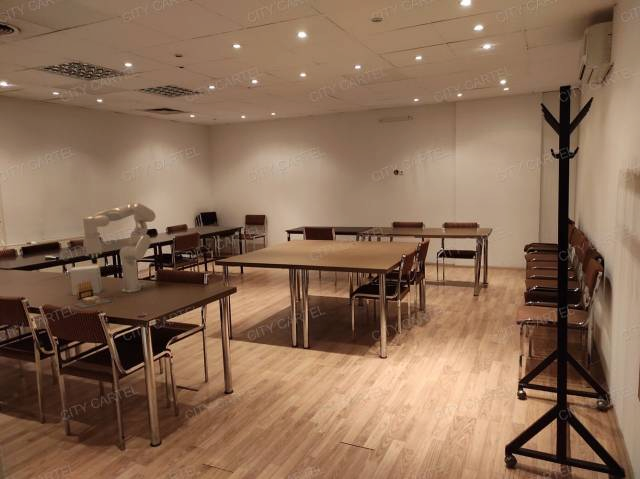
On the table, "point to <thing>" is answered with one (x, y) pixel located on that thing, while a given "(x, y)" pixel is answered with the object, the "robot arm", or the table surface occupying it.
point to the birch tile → (91, 300)
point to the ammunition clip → (84, 290)
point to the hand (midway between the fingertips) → (94, 263)
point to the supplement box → (86, 277)
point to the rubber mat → (92, 304)
